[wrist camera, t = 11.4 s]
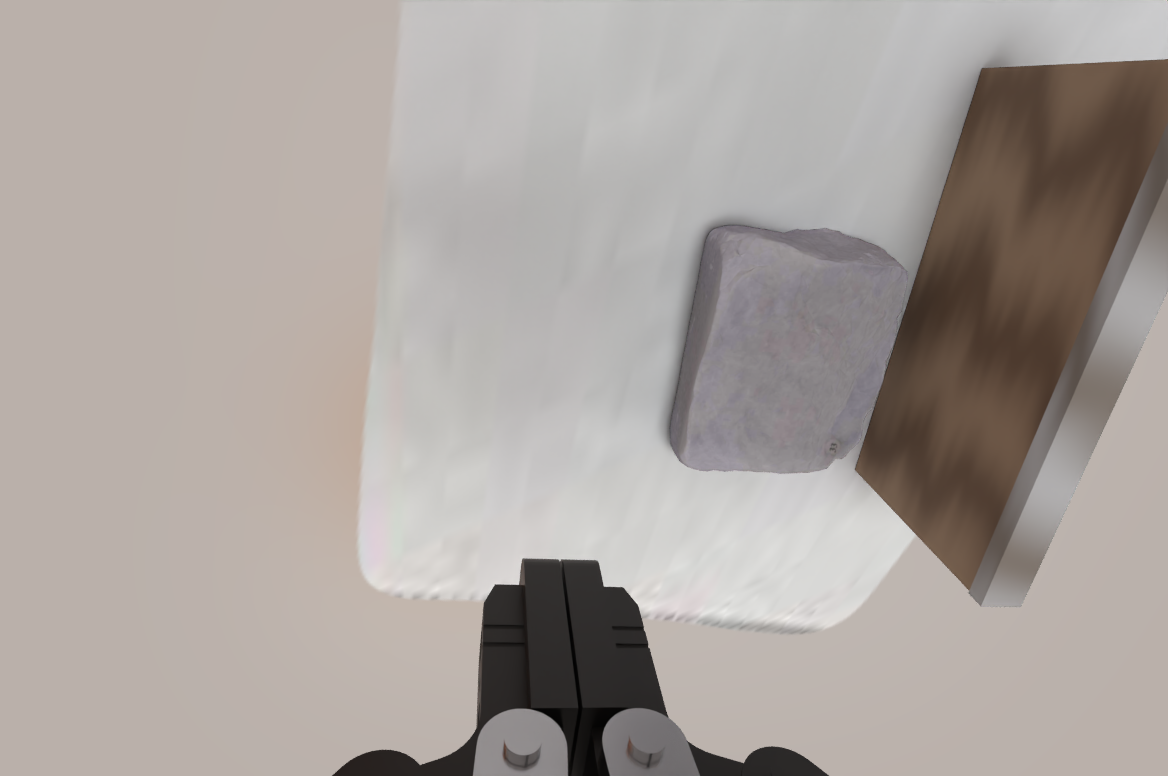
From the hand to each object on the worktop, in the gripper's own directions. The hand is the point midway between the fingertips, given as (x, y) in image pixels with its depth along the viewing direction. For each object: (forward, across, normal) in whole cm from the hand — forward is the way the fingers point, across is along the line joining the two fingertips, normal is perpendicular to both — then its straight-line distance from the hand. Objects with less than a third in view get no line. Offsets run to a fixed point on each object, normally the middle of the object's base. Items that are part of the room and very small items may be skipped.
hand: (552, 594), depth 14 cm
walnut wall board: (+20, -20, -2) cm, 28 cm away
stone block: (+20, -13, +1) cm, 24 cm away
